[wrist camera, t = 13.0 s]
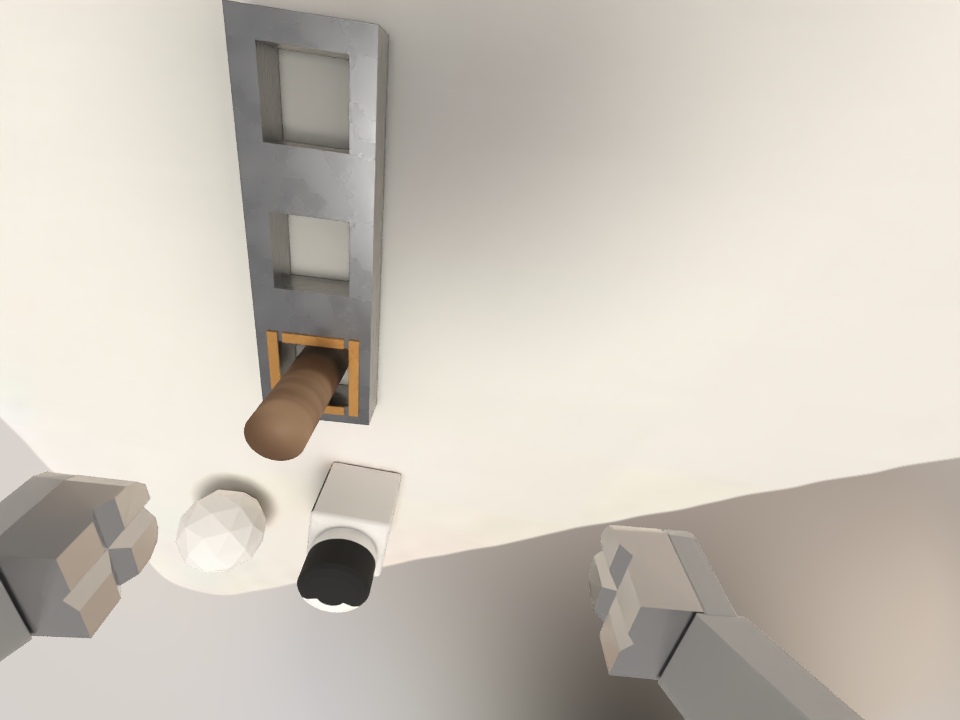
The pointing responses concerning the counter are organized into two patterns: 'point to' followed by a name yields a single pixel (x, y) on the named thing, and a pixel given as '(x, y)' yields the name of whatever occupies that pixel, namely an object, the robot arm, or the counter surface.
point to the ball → (221, 531)
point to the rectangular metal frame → (311, 196)
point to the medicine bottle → (347, 536)
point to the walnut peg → (296, 403)
